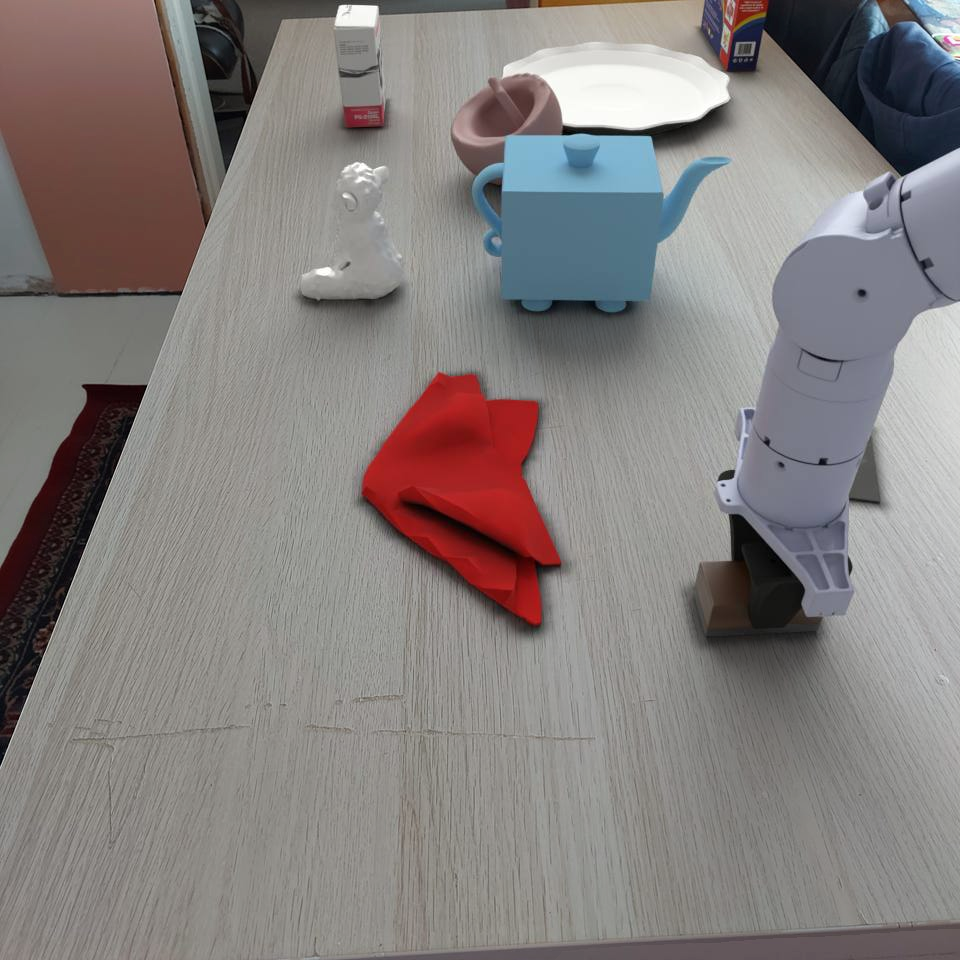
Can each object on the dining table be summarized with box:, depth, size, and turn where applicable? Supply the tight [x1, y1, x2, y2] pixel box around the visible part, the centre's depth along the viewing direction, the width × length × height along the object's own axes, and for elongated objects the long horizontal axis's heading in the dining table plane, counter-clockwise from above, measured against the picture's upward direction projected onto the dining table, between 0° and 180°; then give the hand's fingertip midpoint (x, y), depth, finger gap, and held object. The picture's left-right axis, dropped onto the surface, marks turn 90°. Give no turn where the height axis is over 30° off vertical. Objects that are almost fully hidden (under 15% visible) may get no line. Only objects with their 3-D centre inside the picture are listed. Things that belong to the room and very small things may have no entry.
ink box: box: [333, 4, 387, 129], centre depth 112 cm, size 8×5×12 cm, turn 2°
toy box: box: [700, 0, 770, 72], centre depth 127 cm, size 18×4×12 cm, turn 1°
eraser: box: [692, 560, 824, 638], centre depth 56 cm, size 7×4×3 cm, turn 93°
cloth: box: [361, 371, 563, 627], centre depth 65 cm, size 26×14×2 cm, turn 1°
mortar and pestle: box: [450, 73, 563, 186], centre depth 98 cm, size 12×12×12 cm
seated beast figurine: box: [299, 161, 405, 301], centre depth 82 cm, size 10×9×12 cm
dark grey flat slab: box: [849, 434, 881, 504], centre depth 67 cm, size 5×8×1 cm, turn 168°
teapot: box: [471, 133, 733, 313], centre depth 81 cm, size 22×11×14 cm, turn 87°
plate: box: [500, 41, 731, 136], centre depth 117 cm, size 29×29×2 cm
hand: (758, 596), depth 56 cm, fingers closed on eraser, 3 cm apart
